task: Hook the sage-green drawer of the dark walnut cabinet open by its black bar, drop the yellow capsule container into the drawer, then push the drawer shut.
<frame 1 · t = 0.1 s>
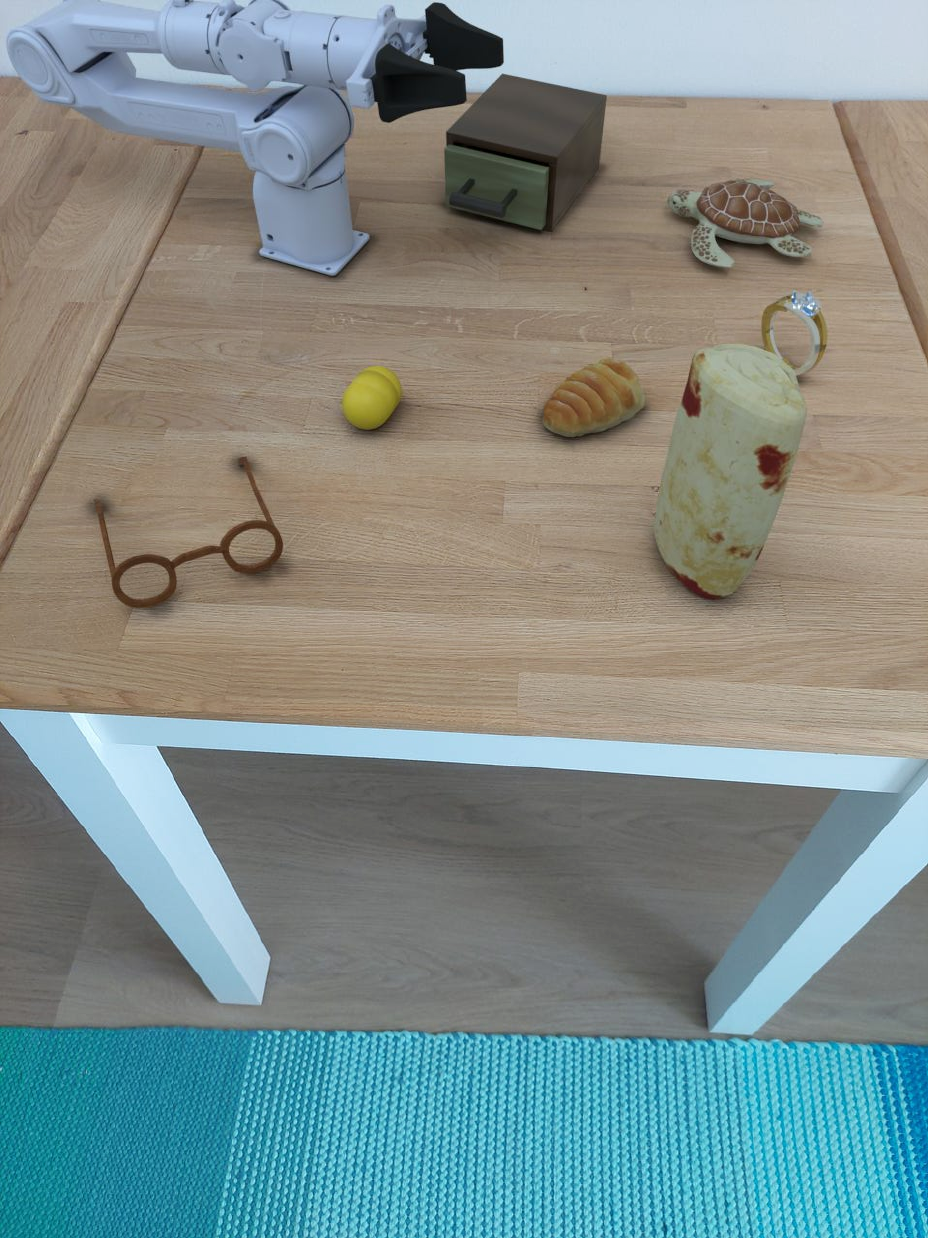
hand: (483, 70, 79), 22 cm above the table, tool horizontal, fingers open, 7 cm apart
drawer: (509, 170, 102), point 4 cm above the table, slide at 0.5 cm
food model: (696, 571, 74), on the table
pastry: (593, 413, 85), on the table
decorative turtle: (737, 233, 102), on the table
cabinet: (524, 186, 108), on the table
ring: (780, 371, 89), on the table
glasses: (190, 535, 77), on the table
yellow capsule container: (374, 416, 85), on the table
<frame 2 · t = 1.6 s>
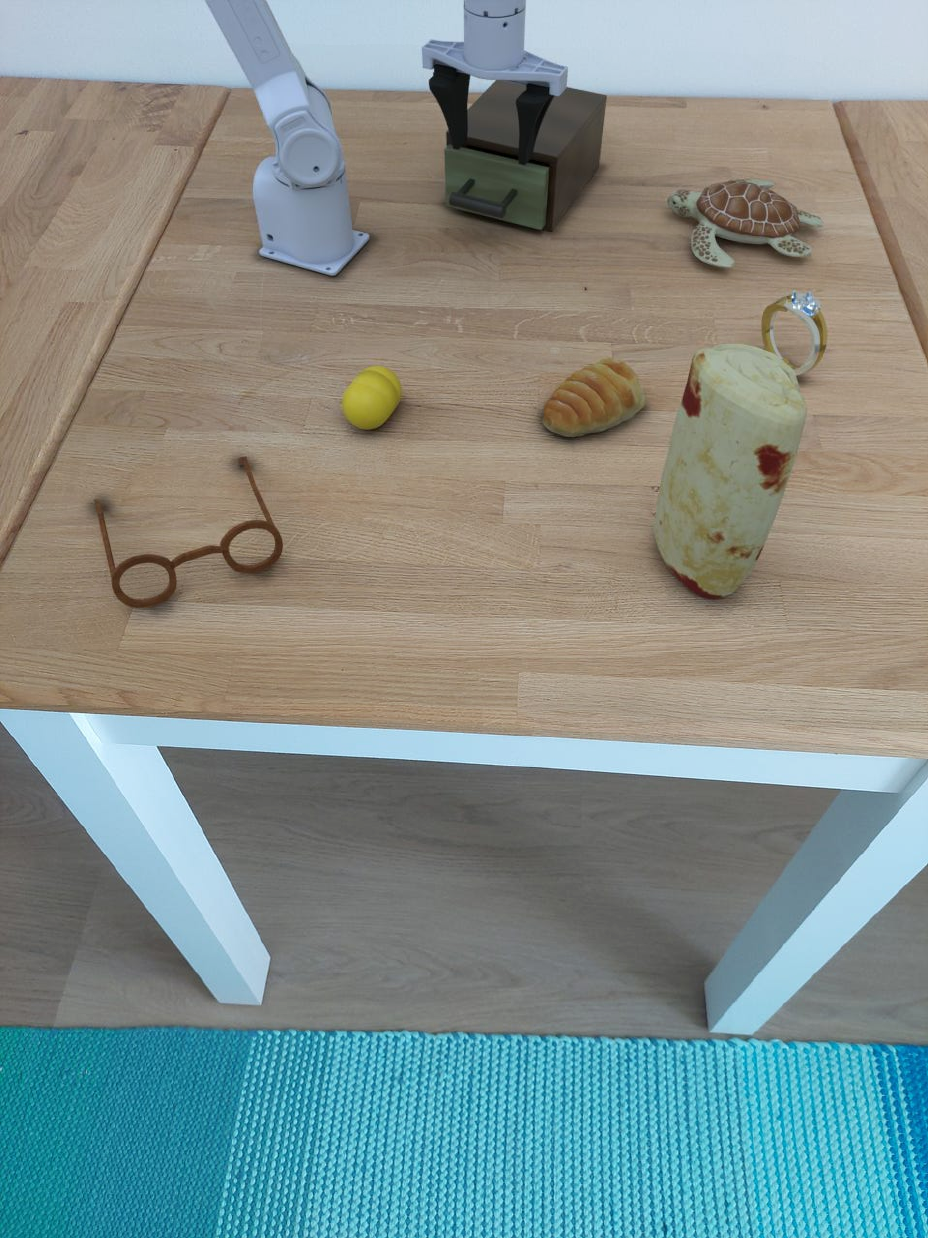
hand: (492, 152, 96), 8 cm above the table, tool pointing down, fingers open, 7 cm apart
nothing on the table moved.
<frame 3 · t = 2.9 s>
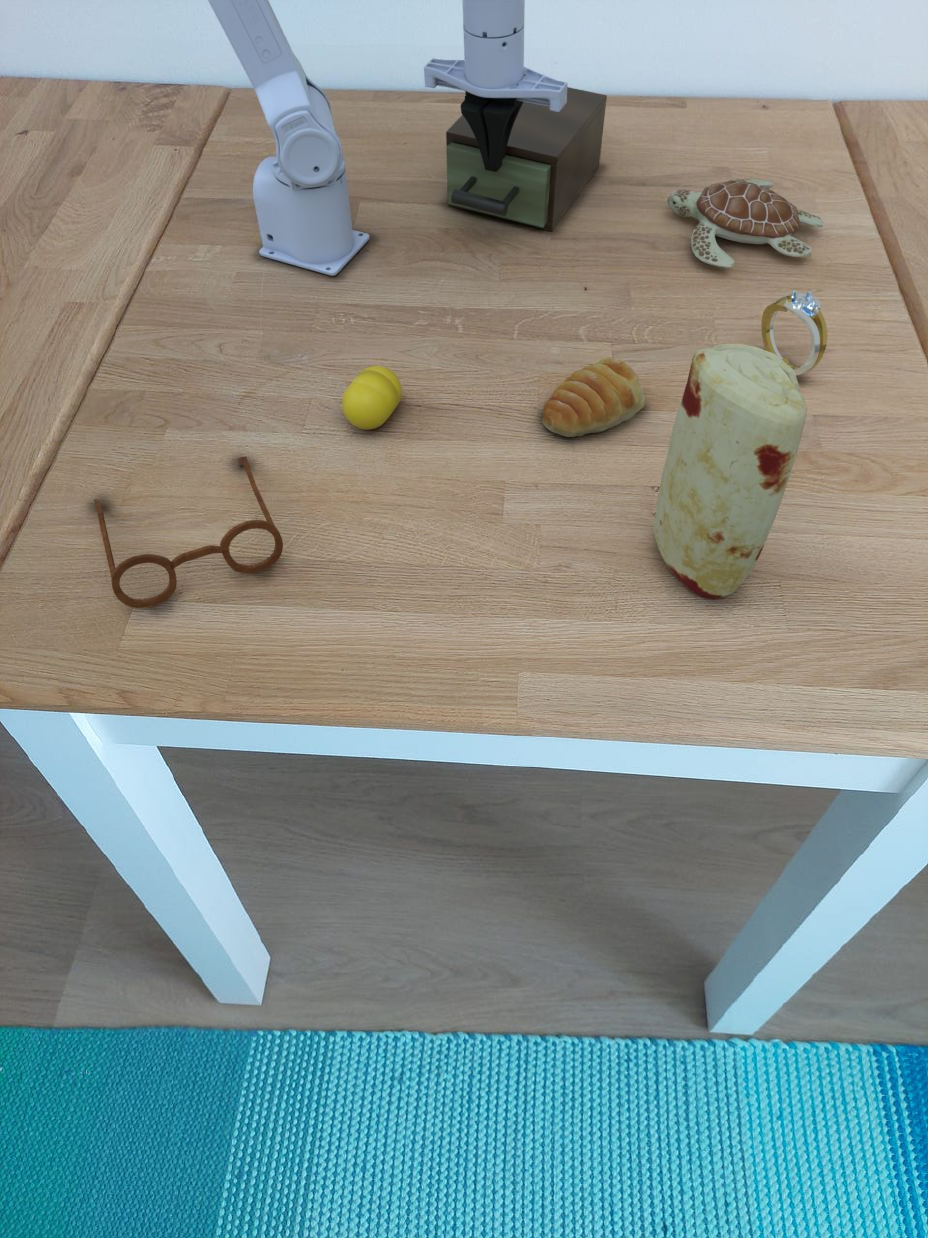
hand: (495, 166, 98), 7 cm above the table, tool pointing down, fingers closed, pressing on drawer
drawer: (511, 168, 103), point 4 cm above the table, slide at 0.0 cm, touching cabinet, gripper
everything else where it was.
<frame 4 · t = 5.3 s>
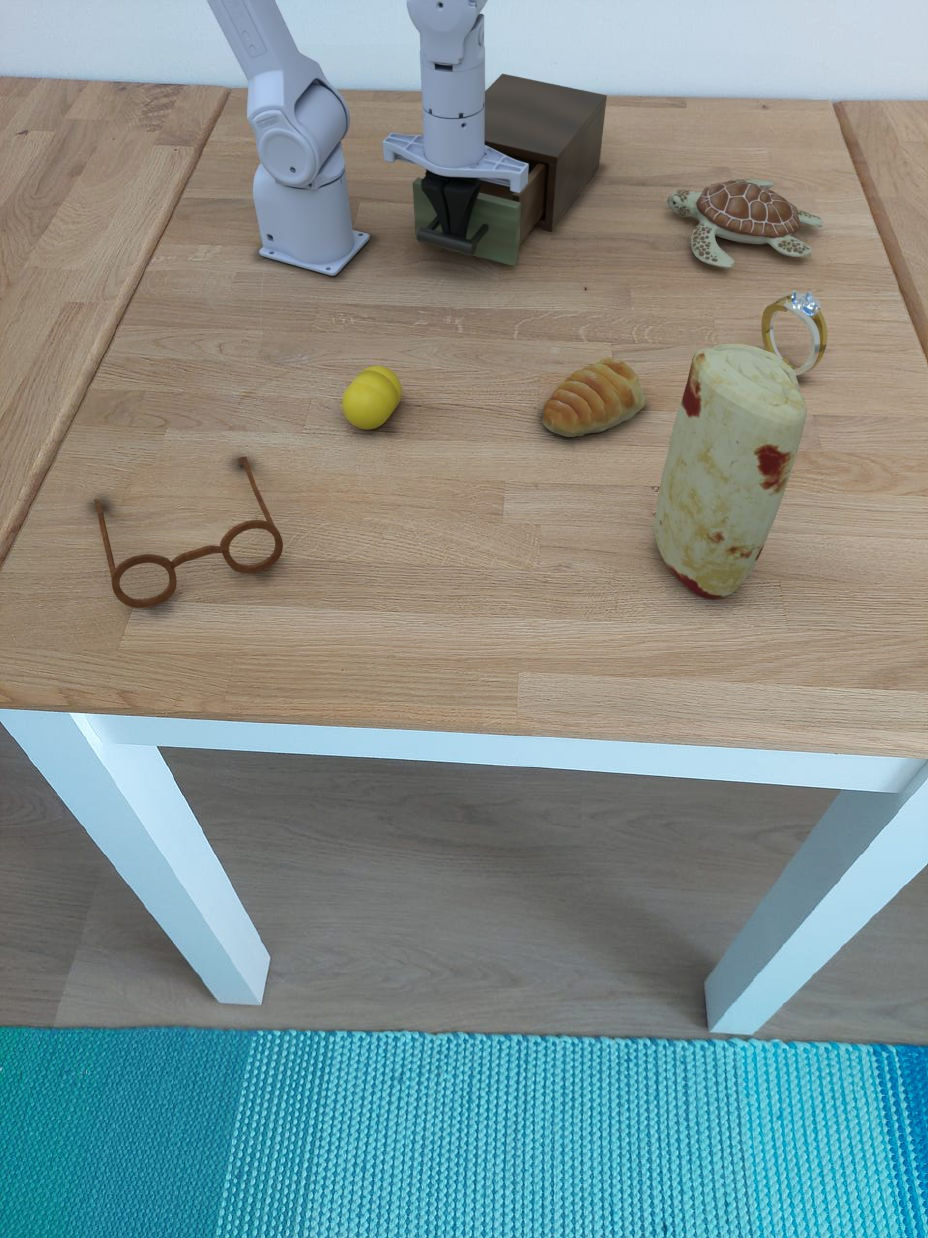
hand: (456, 241, 96), 3 cm above the table, tool pointing down, fingers closed, pressing on drawer
drawer: (481, 203, 98), point 4 cm above the table, slide at 7.9 cm, touching gripper
everything else where it was.
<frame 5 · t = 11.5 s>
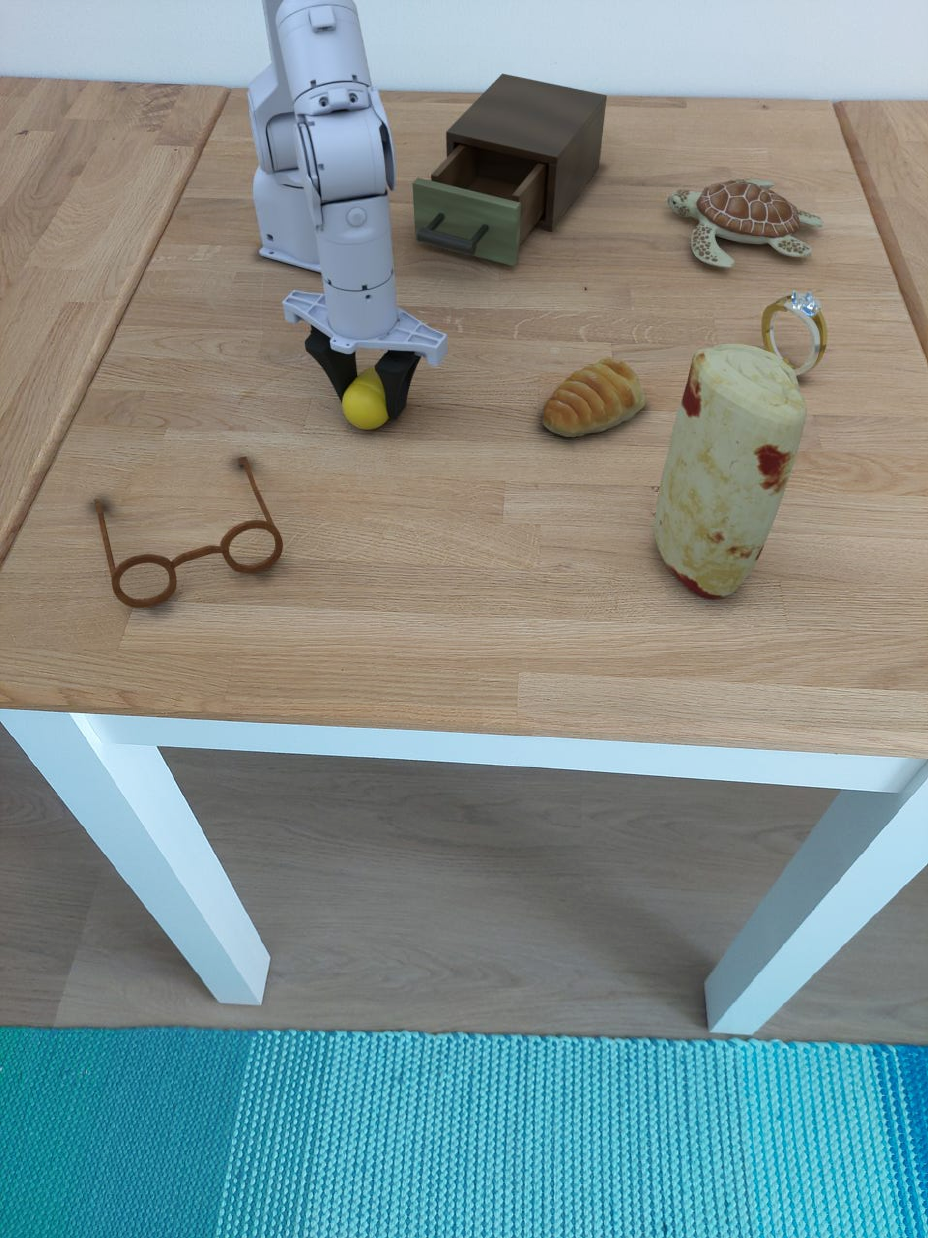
hand: (372, 404, 84), 1 cm above the table, tool pointing down, fingers closed on yellow capsule container, 4 cm apart
drawer: (481, 203, 98), point 4 cm above the table, slide at 7.9 cm
yellow capsule container: (374, 416, 85), on the table, touching gripper
everything else where it was.
when the fingers open (3 cm above the table, at t = 18.2 s): yellow capsule container stays where it is, resting on drawer.
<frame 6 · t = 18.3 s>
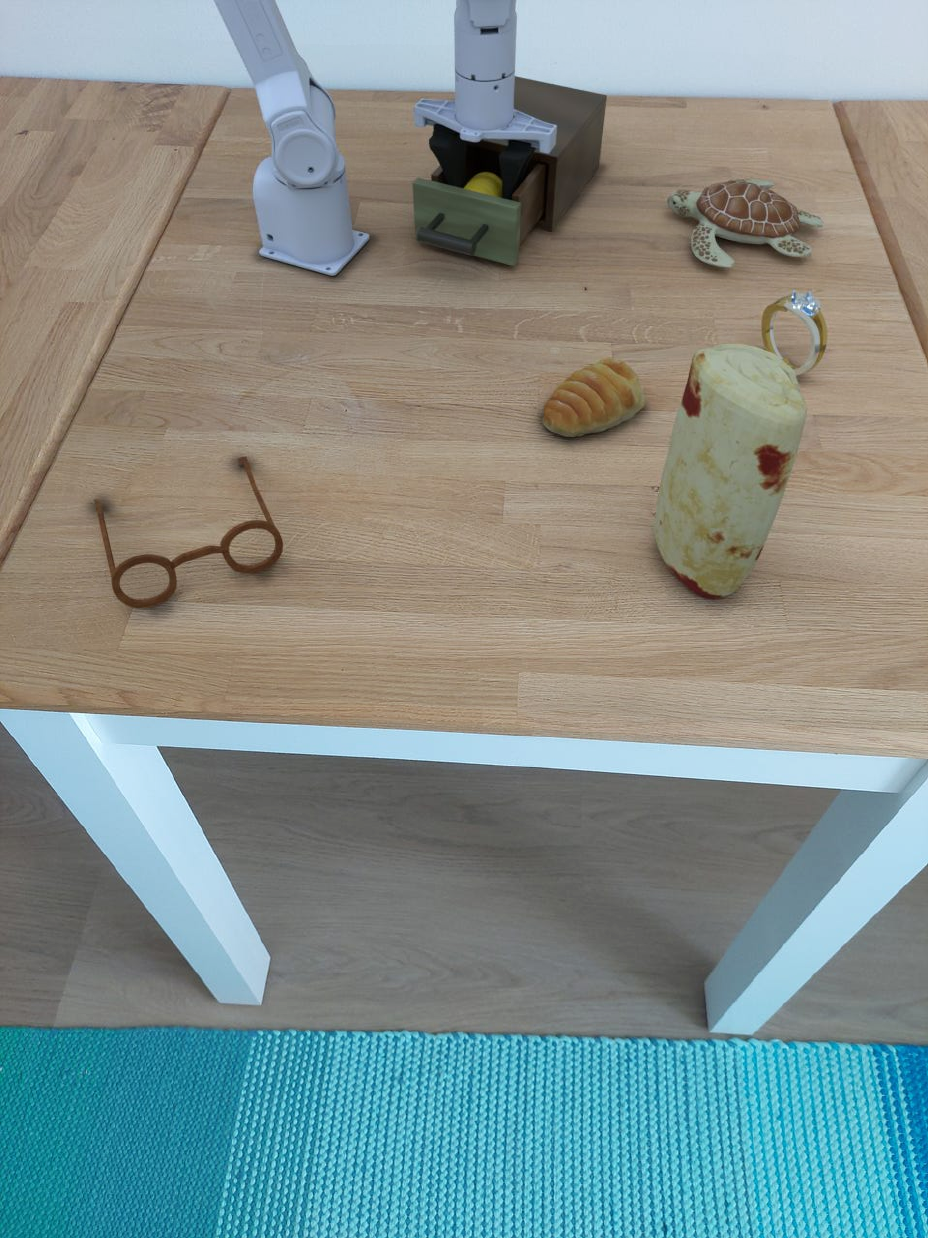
hand: (483, 204, 99), 4 cm above the table, tool pointing down, fingers open, 5 cm apart
drawer: (481, 203, 98), point 4 cm above the table, slide at 7.9 cm, touching gripper, yellow capsule container
yellow capsule container: (484, 219, 100), point 2 cm above the table, tilted 7°, touching drawer
everything else where it was.
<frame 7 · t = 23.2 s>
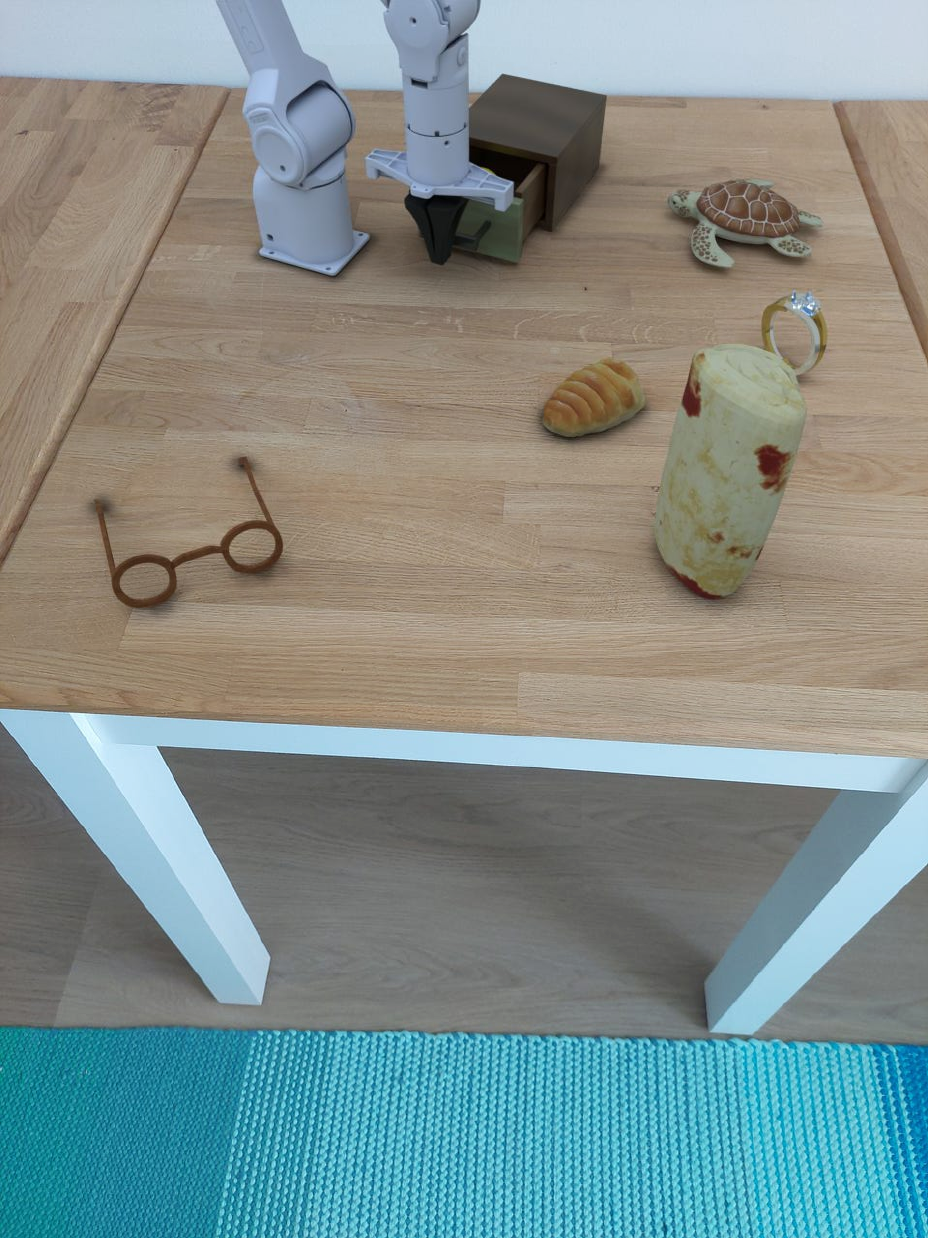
hand: (441, 258, 94), 3 cm above the table, tool pointing down, fingers closed, pressing on drawer
drawer: (484, 200, 99), point 4 cm above the table, slide at 7.2 cm, touching gripper, yellow capsule container
yellow capsule container: (486, 213, 100), point 2 cm above the table, tilted 31°, touching drawer
everything else where it was.
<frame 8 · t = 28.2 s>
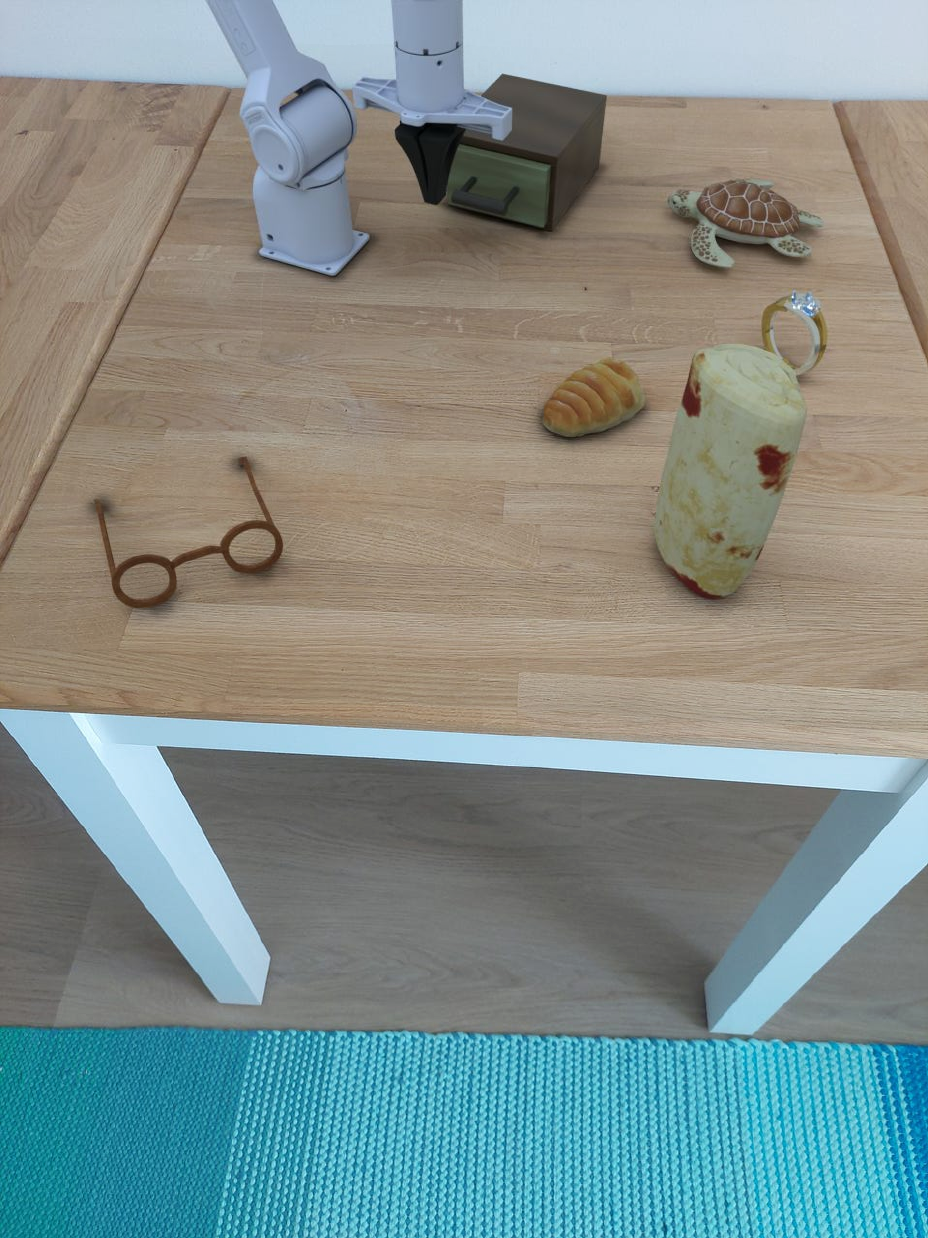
hand: (435, 198, 88), 10 cm above the table, tool pointing down, fingers closed
drawer: (511, 168, 103), point 4 cm above the table, slide at 0.0 cm, touching yellow capsule container
yellow capsule container: (513, 184, 105), point 2 cm above the table, touching drawer
everything else where it was.
at the end: drawer pulled out 8.3 cm at the most during the clip, back to where it started at the end; yellow capsule container inside the target area in the cabinet (3.7 cm from its centre), point 2.1 cm above the cabinet's base; drawer slide at 0.0 cm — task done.
